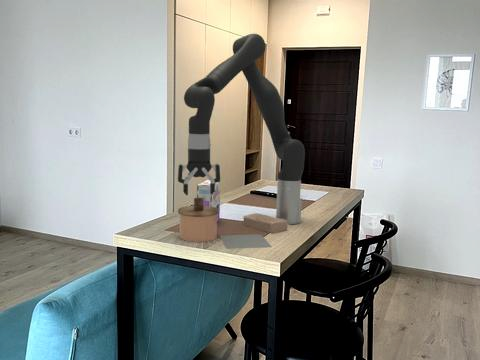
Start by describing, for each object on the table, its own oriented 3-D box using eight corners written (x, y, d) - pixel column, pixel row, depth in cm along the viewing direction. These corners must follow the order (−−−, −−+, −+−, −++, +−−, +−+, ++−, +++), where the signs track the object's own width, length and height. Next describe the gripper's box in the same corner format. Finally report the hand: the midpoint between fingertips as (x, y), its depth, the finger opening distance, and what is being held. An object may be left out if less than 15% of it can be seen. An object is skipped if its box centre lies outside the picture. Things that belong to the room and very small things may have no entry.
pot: (213, 232, 169) (213, 207, 167) (218, 241, 156) (219, 215, 155) (178, 233, 166) (178, 208, 165) (181, 243, 154) (181, 216, 153)
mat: (260, 235, 166) (261, 234, 166) (271, 248, 151) (271, 246, 151) (219, 236, 163) (219, 235, 163) (226, 249, 148) (226, 248, 148)
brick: (241, 226, 179) (242, 214, 179) (257, 223, 185) (257, 211, 184) (272, 235, 167) (273, 223, 166) (288, 232, 173) (288, 219, 172)
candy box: (211, 228, 173) (211, 185, 171) (195, 227, 174) (196, 184, 172) (220, 220, 187) (220, 179, 184) (205, 219, 188) (206, 179, 185)
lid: (215, 207, 168) (215, 194, 167) (221, 216, 155) (222, 202, 154) (176, 208, 165) (176, 194, 165) (179, 217, 152) (179, 202, 151)
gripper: (218, 146, 161) (217, 192, 164) (177, 146, 159) (177, 192, 161) (221, 148, 154) (221, 196, 157) (178, 148, 151) (178, 197, 154)
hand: (199, 194), depth 159 cm, fingers open, 8 cm apart
